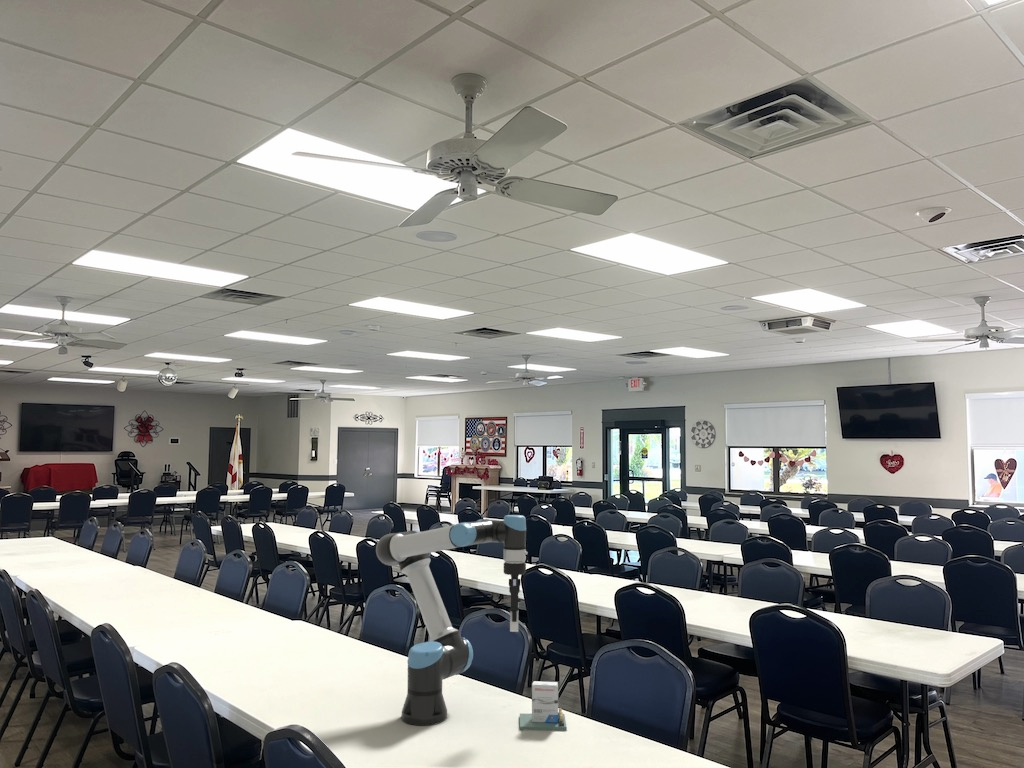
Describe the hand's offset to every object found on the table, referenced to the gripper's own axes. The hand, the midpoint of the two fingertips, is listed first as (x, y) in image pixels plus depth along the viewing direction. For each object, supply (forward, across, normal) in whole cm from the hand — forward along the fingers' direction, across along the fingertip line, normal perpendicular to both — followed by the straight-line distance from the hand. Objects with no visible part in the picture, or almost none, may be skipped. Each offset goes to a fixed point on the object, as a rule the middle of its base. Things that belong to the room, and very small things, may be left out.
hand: (514, 626), depth 240 cm
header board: (+31, 0, -10) cm, 32 cm away
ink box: (+30, 0, -10) cm, 32 cm away
